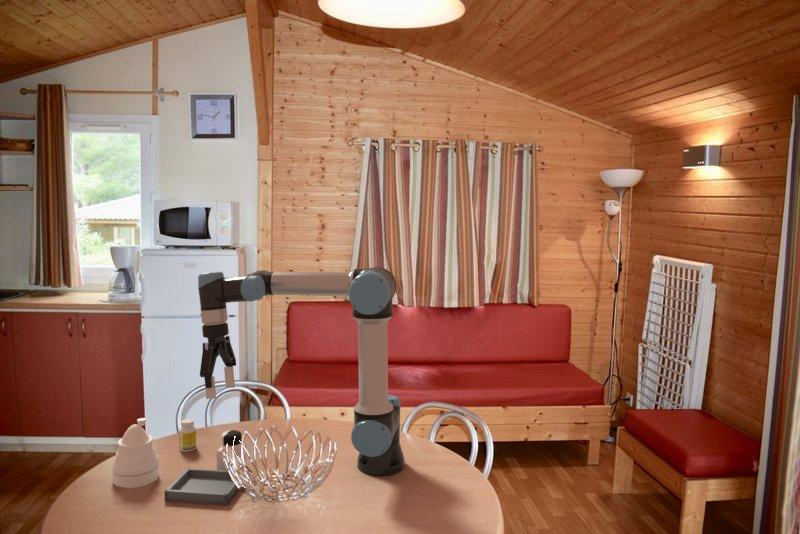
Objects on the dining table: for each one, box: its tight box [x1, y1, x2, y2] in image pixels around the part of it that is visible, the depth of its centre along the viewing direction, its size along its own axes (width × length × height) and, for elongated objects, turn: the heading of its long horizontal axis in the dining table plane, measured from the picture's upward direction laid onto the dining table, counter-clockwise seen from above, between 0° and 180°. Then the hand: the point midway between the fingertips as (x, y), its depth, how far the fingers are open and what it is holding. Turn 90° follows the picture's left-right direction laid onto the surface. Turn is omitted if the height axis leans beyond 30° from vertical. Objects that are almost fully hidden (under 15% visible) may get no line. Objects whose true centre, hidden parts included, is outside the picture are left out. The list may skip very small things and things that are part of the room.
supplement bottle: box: [178, 418, 197, 453], centre depth 211 cm, size 5×5×10 cm
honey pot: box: [111, 417, 160, 489], centre depth 188 cm, size 13×13×18 cm
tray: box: [164, 467, 239, 506], centre depth 182 cm, size 18×15×3 cm
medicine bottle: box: [216, 429, 247, 470], centre depth 196 cm, size 7×7×12 cm
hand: (221, 392), depth 190 cm, fingers open, 13 cm apart
